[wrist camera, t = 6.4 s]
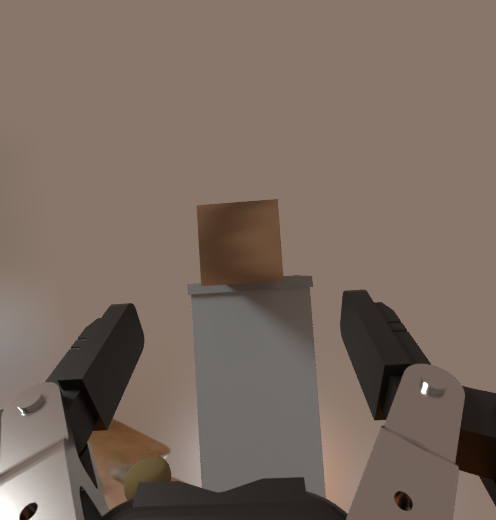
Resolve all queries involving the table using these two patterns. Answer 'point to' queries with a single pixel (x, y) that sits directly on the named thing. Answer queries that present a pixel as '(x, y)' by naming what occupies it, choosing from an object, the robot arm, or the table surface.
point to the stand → (256, 383)
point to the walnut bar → (239, 243)
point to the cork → (146, 474)
